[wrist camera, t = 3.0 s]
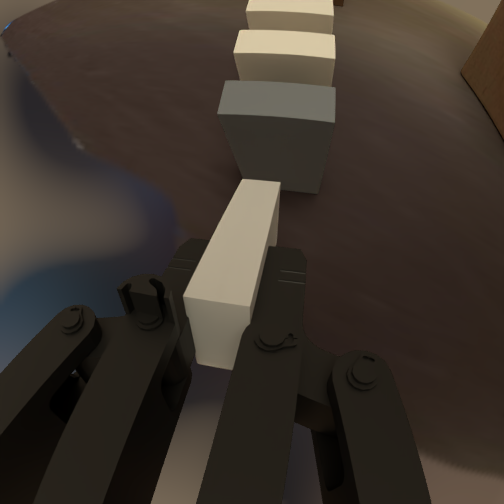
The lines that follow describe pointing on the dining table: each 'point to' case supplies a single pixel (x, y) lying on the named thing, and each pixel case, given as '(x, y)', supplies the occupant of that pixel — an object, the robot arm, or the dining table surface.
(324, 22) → the domino
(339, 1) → the end block
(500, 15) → the wooden block
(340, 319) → the dining table surface
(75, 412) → the robot arm
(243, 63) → the domino
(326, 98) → the domino
